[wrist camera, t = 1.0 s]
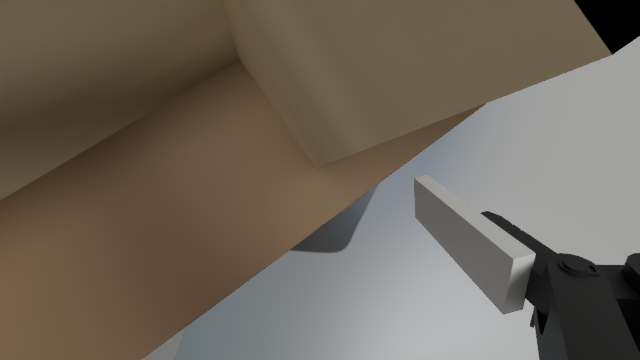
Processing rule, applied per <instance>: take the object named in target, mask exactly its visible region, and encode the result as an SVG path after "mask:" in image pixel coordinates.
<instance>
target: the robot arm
mask: <svg viewBox="0 0 640 360" xmlns="http://www.w3.org/2000/svg"><path fill="white" fill-rule="evenodd" d="M414 191H415V215H416V218H417V219H418V221H419V222H420V223H421V224H422V225H423V226H424V227H425V228H426V229H427V230H428V232H429V233H430V234H431V235H432V236H433V237H434V238H435V239H436V240H437V241H438V243H439V244H440V245H441V246H442V247H443V248H444V249H445V250H446V252H447V253H448V254H449V255H450V256H451V257H452V258H453V259H454V260H455V262H456V263H457V264H458V265H459V266H460V267H461V268H462V269H463V270H464V272H465V273H466V274H467V275H468V276H469V277H470V278H471V279H472V280H473V282H474V283H475V284H476V285H477V286H478V287H479V288H480V289H481V290H482V291H483V293H484V294H485V295H486V296H487V297H488V298H489V299H490V300H491V301H492V302H493V304H494V305H495V306H496V307H497V308H498V309H499V310H500V311H501V313H502V314H507V313H511V312H514V311H518V310H522V309H523V305H524V301H525V298H526V299H527V300H528V301H529V302H530V303H531V304H532V305H533V306H535V307H534V311H533V315H532V318H531V323H530V326H531V327H534V325H535V329H536V337H537V344H538V351H539V359H540V360H640V253H634V254H632V255H630V256H628V258H627V260H626V262H625V265H595V264H594V263H592V262H591V261H589V260H586V259H584V258H582V257H579V256H575V255H571V254H562V253H559V254H557V253H556V252H554V251H552V250H551V249H550V248H548V247H546V246H545V245H543V244H542V243H541V242H539V241H537V240H536V239H534V238H533V237H531V236H530V235H528V234H527V233H525V232H524V231H521V230H520V229H519V228H518V227H516V226H515V225H512V224H511V223H510V222H509V221H507V220H506V219H504V218H503V217H501V216H499V215H496V214H494V213H491V212H488V211H486V212H482V213H479V212H477V211H476V210H475V209H474V208H472V207H471V206H469V205H468V204H467V203H465V202H464V201H462V200H461V199H460V198H458V197H457V196H456V195H454V194H453V193H451V192H450V191H449V190H447V189H446V188H444V187H443V186H442V185H440V184H439V183H438V182H436V181H435V180H433V179H432V178H431V177H429V176H428V175H424V176H419V177H415V178H414ZM186 328H187V326H186V327H185V328H184V329H182V330H181V331H180V332H178V333H177V334H176V335H174V336H173V337H172V338H170V339H169V340H168V341H166V342H165V343H164V344H162V345H161V346H160V347H158V348H157V349H156V350H154V351H153V352H152V353H150V354H149V355H148V356H146V357H145V358H143V359H142V360H174V359H175V356H176V354H177V351H178V348H179V346H180V343H181V341H182V338H183V336H184V333H185V330H186Z"/></svg>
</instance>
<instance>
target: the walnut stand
mask: <svg viewBox="0 0 640 360" xmlns="http://www.w3.org/2000/svg"><path fill="white" fill-rule="evenodd" d="M485 104H486V103H485ZM485 104H482V105H480V106H477V107H475V108H472V109H469V110H467V111H464V112H462V113H459V114H456V115H454V116H451V117H449V118H446V119H443V120H441V121H438V122H436V123H433V124H430V125H428V126H425V127H423V128H420V129H417V130H415V131H412V132H409V133H407V134H404V135H402V136H399V137H396V138H394V139H391V140H389V141H386V142H383V143H381V144H378V145H376V146H373V147H370V148H368V149H365V150H363V151H360V152H357V153H355V154H352V155H349V156H347V157H344V158H342V159H339V160H336V161H334V162H331V163H329V164H326V165H323V166H321V167H318V168H316V169H315V168H314V166H313V165H312V163H311V162H310V160H309V159H308V158H307V156H306V155H305V153H304V152H303V150H302V149H301V147H300V146H299V144H298V143H297V142H296V140H295V139H294V137H293V136H292V134H291V133H290V131H289V130H288V129H287V127H286V126H285V124H284V123H283V121H282V120H281V118H280V117H279V116H278V114H277V113H276V111H275V110H274V108H273V107H272V105H271V104H270V103H269V101H268V100H267V98H266V97H265V95H264V94H263V92H262V91H261V89H260V88H259V87H258V85H257V84H256V82H255V81H254V79H253V78H252V76H251V75H250V74H249V72H248V71H247V69H246V68H245V66H244V65H243V63H242V62H241V61H240V59H239V60H237V61H236V62H234V63H232V64H231V65H229V66H227V67H226V68H224V69H222V70H221V71H219V72H217V73H215V74H214V75H212V76H210V77H209V78H207V79H205V80H204V81H202V82H200V83H199V84H197V85H195V86H193V87H192V88H190V89H188V90H187V91H185V92H183V93H182V94H180V95H178V96H176V97H175V98H173V99H171V100H170V101H168V102H166V103H165V104H163V105H161V106H160V107H158V108H156V109H154V110H153V111H151V112H149V113H148V114H146V115H144V116H143V117H141V118H139V119H138V120H136V121H134V122H132V123H131V124H129V125H127V126H126V127H124V128H122V129H121V130H119V131H117V132H115V133H114V134H112V135H110V136H109V137H107V138H105V139H104V140H102V141H100V142H99V143H97V144H95V145H93V146H92V147H90V148H88V149H87V150H85V151H83V152H82V153H80V154H78V155H77V156H75V157H73V158H71V159H70V160H68V161H66V162H65V163H63V164H61V165H60V166H58V167H56V168H54V169H53V170H51V171H49V172H48V173H46V174H44V175H43V176H41V177H39V178H38V179H36V180H34V181H32V182H31V183H29V184H27V185H26V186H24V187H22V188H21V189H19V190H17V191H16V192H14V193H12V194H10V195H9V196H7V197H5V198H4V199H2V200H0V360H142V359H143V358H145V357H146V356H148V355H149V354H150V353H152V352H153V351H154V350H156V349H157V348H158V347H160V346H161V345H162V344H164V343H165V342H166V341H168V340H169V339H170V338H172V337H173V336H174V335H176V334H177V333H178V332H180V331H181V330H182V329H184V328H185V327H186V326H188V325H189V324H191V323H192V322H193V321H194V320H196V319H197V318H198V317H200V316H201V315H203V314H204V313H205V312H207V311H208V310H209V309H211V308H212V307H213V306H215V305H216V304H217V303H219V302H220V301H221V300H223V299H224V298H225V297H227V296H228V295H229V294H231V293H232V292H234V291H235V290H236V289H238V288H239V287H240V286H242V285H243V284H244V283H246V282H247V281H248V280H250V279H251V278H252V277H254V276H255V275H256V274H258V273H259V272H260V271H262V270H263V269H264V268H266V267H267V266H268V265H270V264H271V263H272V262H274V261H275V260H276V259H278V258H279V257H280V256H282V255H283V254H285V253H286V252H287V251H289V250H290V249H291V248H293V247H294V246H295V245H297V244H298V243H299V242H301V241H302V240H303V239H305V238H306V237H307V236H309V235H310V234H311V233H313V232H314V231H316V230H317V229H318V228H320V227H321V226H322V225H324V224H325V223H326V222H328V221H329V220H330V219H332V218H333V217H334V216H336V215H337V214H338V213H340V212H341V211H342V210H344V209H345V208H346V207H348V206H349V205H350V204H352V203H353V202H354V201H356V200H357V199H359V198H360V197H361V196H363V195H364V194H365V193H367V192H368V191H369V190H371V189H372V188H373V187H375V186H376V185H377V184H379V183H380V182H381V181H383V180H384V179H385V178H387V177H388V176H389V175H391V174H392V173H393V172H395V171H396V170H397V169H399V168H400V167H402V166H403V165H404V164H406V163H407V162H408V161H410V160H411V159H412V158H413V157H415V156H416V155H418V154H419V153H420V152H422V151H423V150H424V149H426V148H427V147H428V146H430V145H431V144H432V143H434V142H435V141H436V140H438V139H439V138H440V137H442V136H443V135H444V134H446V133H447V132H449V131H450V130H451V129H453V128H454V127H455V126H457V125H458V124H459V123H461V122H462V121H463V120H465V119H466V118H467V117H469V116H470V115H471V114H473V113H474V112H475V111H477V110H478V109H479V108H481V107H482V106H483V105H485Z"/></svg>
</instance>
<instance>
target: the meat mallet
mask: <svg viewBox="0 0 640 360" xmlns="http://www.w3.org/2000/svg"><path fill="white" fill-rule="evenodd" d="M639 36H640V0H0V200H2V199H4V198H5V197H7V196H9V195H10V194H12V193H14V192H16V191H17V190H19V189H21V188H22V187H24V186H26V185H27V184H29V183H31V182H32V181H34V180H36V179H38V178H39V177H41V176H43V175H44V174H46V173H48V172H49V171H51V170H53V169H54V168H56V167H58V166H60V165H61V164H63V163H65V162H66V161H68V160H70V159H71V158H73V157H75V156H77V155H78V154H80V153H82V152H83V151H85V150H87V149H88V148H90V147H92V146H93V145H95V144H97V143H99V142H100V141H102V140H104V139H105V138H107V137H109V136H110V135H112V134H114V133H115V132H117V131H119V130H121V129H122V128H124V127H126V126H127V125H129V124H131V123H132V122H134V121H136V120H138V119H139V118H141V117H143V116H144V115H146V114H148V113H149V112H151V111H153V110H154V109H156V108H158V107H160V106H161V105H163V104H165V103H166V102H168V101H170V100H171V99H173V98H175V97H176V96H178V95H180V94H182V93H183V92H185V91H187V90H188V89H190V88H192V87H193V86H195V85H197V84H199V83H200V82H202V81H204V80H205V79H207V78H209V77H210V76H212V75H214V74H215V73H217V72H219V71H221V70H222V69H224V68H226V67H227V66H229V65H231V64H232V63H234V62H236V61H237V60H239V59H240V61H241V62H242V63H243V65H244V66H245V68H246V69H247V71H248V72H249V74H250V75H251V76H252V78H253V79H254V81H255V82H256V84H257V85H258V87H259V88H260V89H261V91H262V92H263V94H264V95H265V97H266V98H267V100H268V101H269V103H270V104H271V105H272V107H273V108H274V110H275V111H276V113H277V114H278V116H279V117H280V118H281V120H282V121H283V123H284V124H285V126H286V127H287V129H288V130H289V131H290V133H291V134H292V136H293V137H294V139H295V140H296V142H297V143H298V144H299V146H300V147H301V149H302V150H303V152H304V153H305V155H306V156H307V158H308V159H309V160H310V162H311V163H312V165H313V166H314V168H315V169H316V168H318V167H321V166H323V165H326V164H329V163H331V162H334V161H336V160H339V159H342V158H344V157H347V156H349V155H352V154H355V153H357V152H360V151H363V150H365V149H368V148H370V147H373V146H376V145H378V144H381V143H383V142H386V141H389V140H391V139H394V138H396V137H399V136H402V135H404V134H407V133H409V132H412V131H415V130H417V129H420V128H423V127H425V126H428V125H430V124H433V123H436V122H438V121H441V120H443V119H446V118H449V117H451V116H454V115H456V114H459V113H462V112H464V111H467V110H469V109H472V108H475V107H477V106H480V105H482V104H485V103H488V102H490V101H493V100H495V99H498V98H501V97H503V96H506V95H509V94H511V93H514V92H516V91H519V90H522V89H524V88H527V87H529V86H532V85H535V84H537V83H540V82H542V81H545V80H548V79H550V78H553V77H555V76H558V75H560V74H563V73H566V72H568V71H571V70H574V69H576V68H579V67H582V66H584V65H587V64H589V63H592V62H595V61H597V60H600V59H602V58H605V57H607V56H610V55H613V54H614V53H615V52H617V51H618V50H620V49H621V48H623V47H624V46H625V45H627V44H628V43H630V42H631V41H633V40H634V39H636V38H637V37H639Z"/></svg>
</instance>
